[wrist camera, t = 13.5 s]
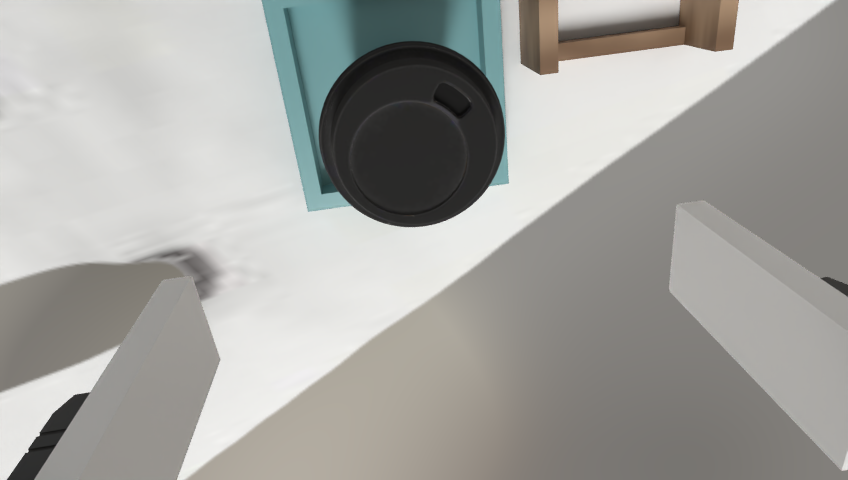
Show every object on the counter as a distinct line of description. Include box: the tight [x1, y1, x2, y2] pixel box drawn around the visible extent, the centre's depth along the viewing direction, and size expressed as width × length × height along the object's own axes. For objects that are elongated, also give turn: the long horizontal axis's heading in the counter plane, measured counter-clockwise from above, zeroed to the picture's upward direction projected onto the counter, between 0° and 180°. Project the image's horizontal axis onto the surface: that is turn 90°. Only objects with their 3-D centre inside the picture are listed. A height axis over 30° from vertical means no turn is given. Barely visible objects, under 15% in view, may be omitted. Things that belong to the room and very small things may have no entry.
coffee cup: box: [319, 41, 505, 227], centre depth 34 cm, size 10×9×15 cm
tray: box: [262, 0, 509, 212], centre depth 40 cm, size 15×15×3 cm
